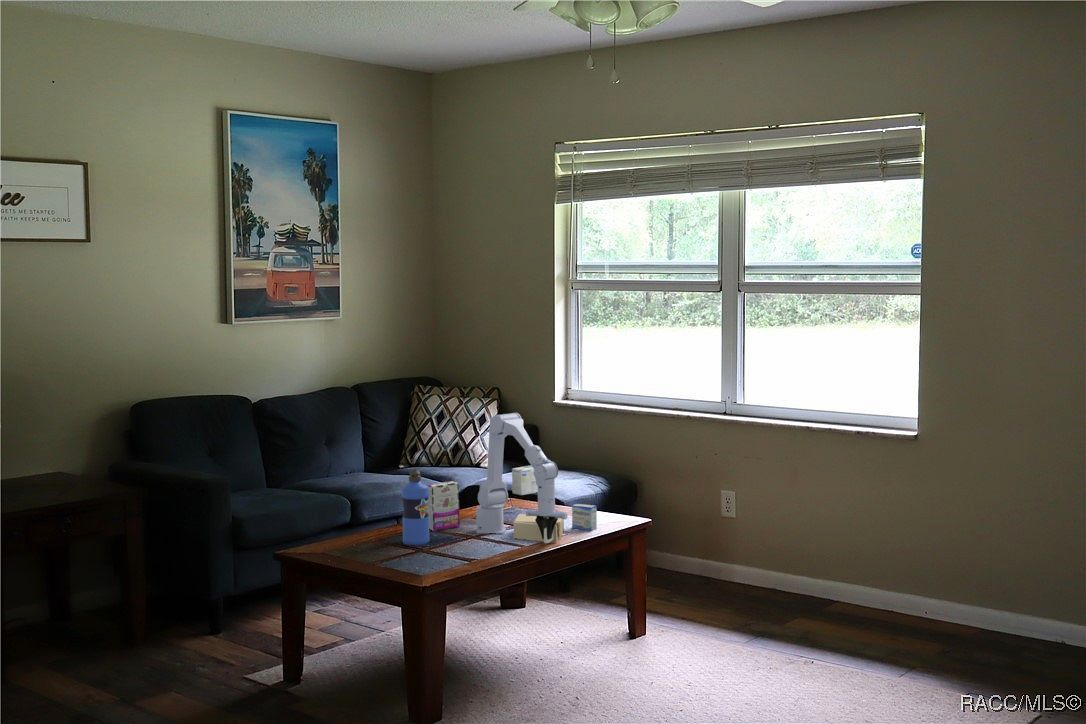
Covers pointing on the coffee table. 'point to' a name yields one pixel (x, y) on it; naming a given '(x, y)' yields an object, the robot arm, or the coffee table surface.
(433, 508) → the candy bar box
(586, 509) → the medicine box
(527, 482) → the light bulb box
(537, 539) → the cream block
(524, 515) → the carton
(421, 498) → the water bottle
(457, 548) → the coffee table surface
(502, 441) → the robot arm
